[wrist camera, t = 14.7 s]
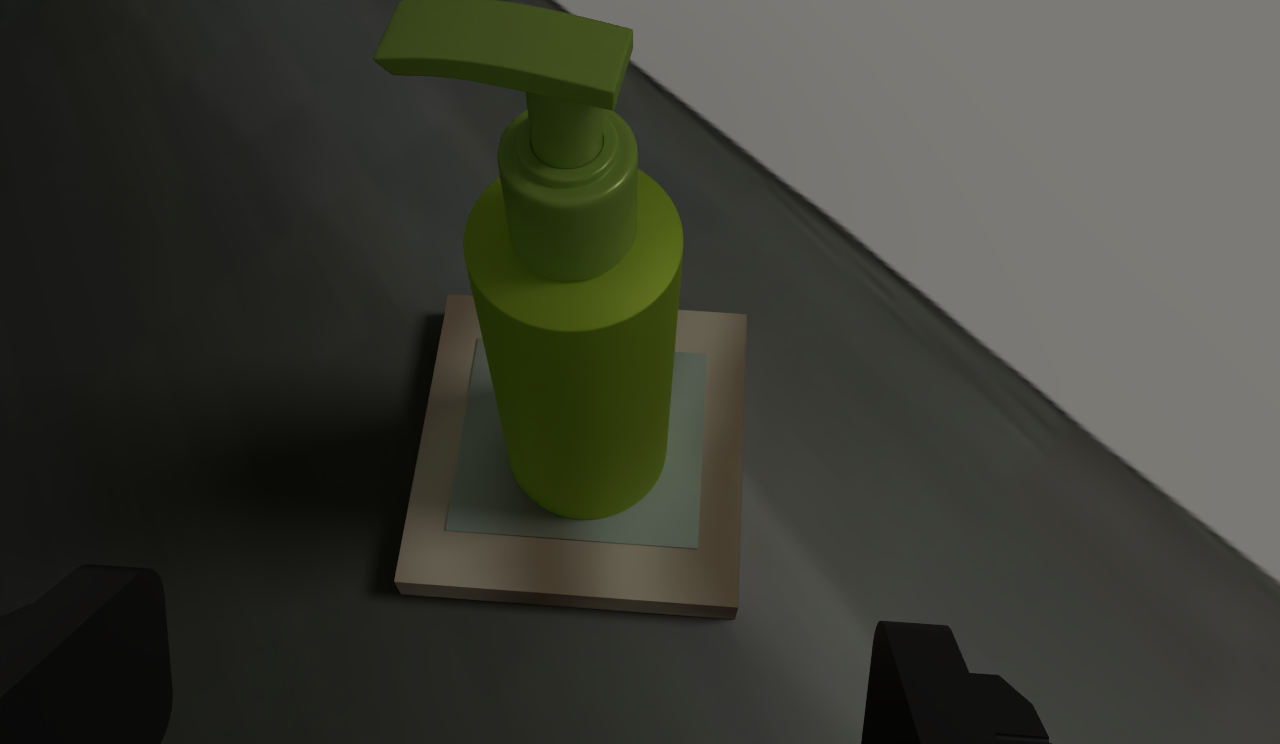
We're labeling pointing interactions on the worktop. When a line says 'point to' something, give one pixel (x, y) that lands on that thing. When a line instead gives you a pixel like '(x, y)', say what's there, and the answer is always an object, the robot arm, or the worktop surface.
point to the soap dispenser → (562, 250)
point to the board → (574, 548)
